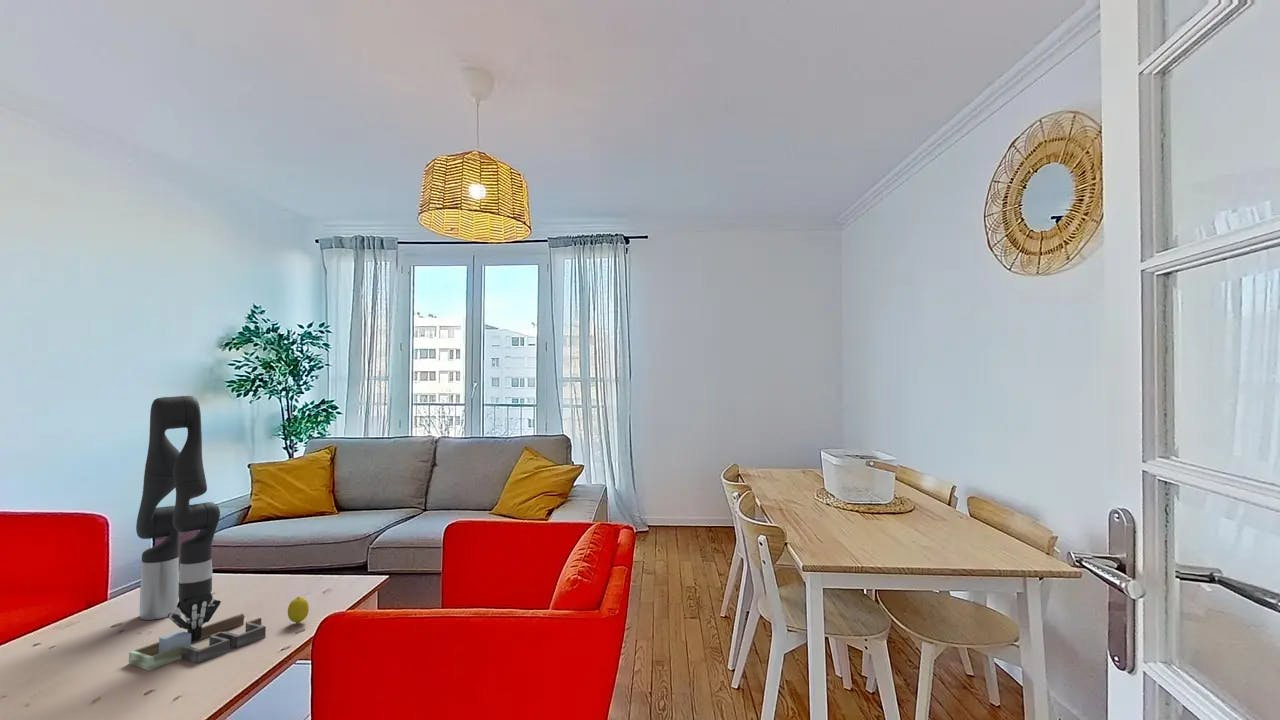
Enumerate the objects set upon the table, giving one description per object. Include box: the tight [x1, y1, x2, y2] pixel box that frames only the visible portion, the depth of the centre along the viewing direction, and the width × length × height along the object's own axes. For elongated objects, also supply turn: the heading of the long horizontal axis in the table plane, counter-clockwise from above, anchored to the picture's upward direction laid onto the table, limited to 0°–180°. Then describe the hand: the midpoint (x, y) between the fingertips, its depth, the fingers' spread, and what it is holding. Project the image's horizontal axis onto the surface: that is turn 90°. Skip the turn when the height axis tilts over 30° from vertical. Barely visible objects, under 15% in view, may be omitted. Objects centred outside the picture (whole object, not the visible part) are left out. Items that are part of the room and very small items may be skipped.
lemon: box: [287, 596, 310, 625], centre depth 186 cm, size 6×6×8 cm
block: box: [158, 630, 192, 653], centre depth 165 cm, size 5×5×5 cm
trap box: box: [128, 613, 267, 671], centre depth 169 cm, size 16×29×3 cm, turn 156°
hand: (194, 641), depth 169 cm, fingers closed
